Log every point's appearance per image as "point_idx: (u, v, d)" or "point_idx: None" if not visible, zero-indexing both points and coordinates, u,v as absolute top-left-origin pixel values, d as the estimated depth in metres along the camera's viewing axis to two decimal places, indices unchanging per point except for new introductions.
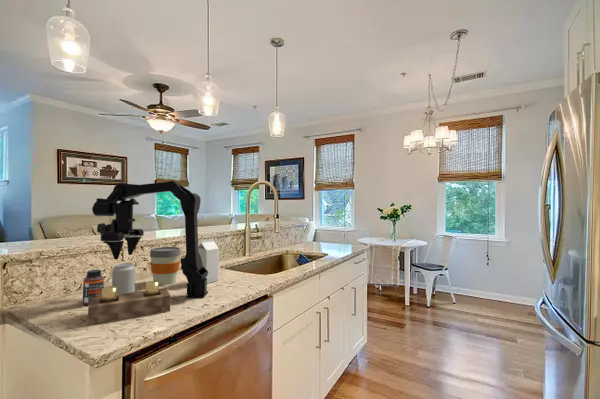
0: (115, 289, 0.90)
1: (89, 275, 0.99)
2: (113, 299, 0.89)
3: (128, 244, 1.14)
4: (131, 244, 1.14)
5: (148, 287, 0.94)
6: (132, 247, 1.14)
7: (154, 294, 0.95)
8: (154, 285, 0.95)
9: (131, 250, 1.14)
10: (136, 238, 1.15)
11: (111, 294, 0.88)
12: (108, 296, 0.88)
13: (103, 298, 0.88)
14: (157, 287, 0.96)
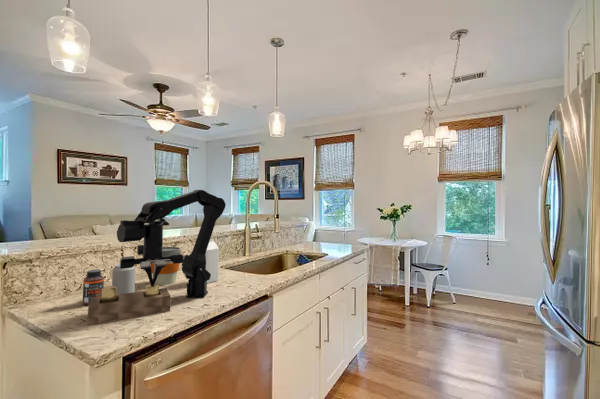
0: (115, 289, 0.90)
1: (89, 275, 0.99)
2: (113, 299, 0.89)
3: (153, 272, 0.97)
4: (154, 273, 0.96)
5: (148, 290, 0.94)
6: (153, 277, 0.95)
7: None
8: (154, 288, 0.95)
9: None
10: (155, 267, 0.95)
11: (111, 294, 0.88)
12: (108, 296, 0.88)
13: (103, 298, 0.88)
14: (157, 290, 0.96)
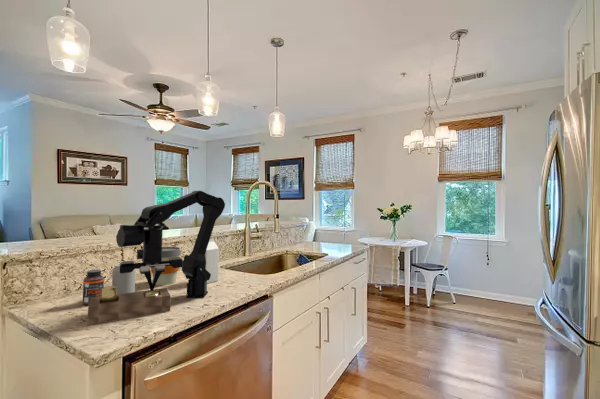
0: (115, 289, 0.90)
1: (89, 275, 0.99)
2: (113, 299, 0.89)
3: (153, 277, 0.97)
4: (153, 278, 0.96)
5: None
6: (152, 281, 0.95)
7: None
8: None
9: None
10: (155, 271, 0.95)
11: (111, 294, 0.88)
12: (108, 296, 0.88)
13: (103, 298, 0.88)
14: None
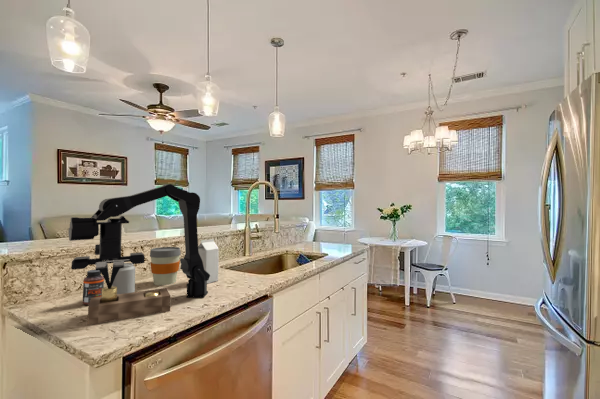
0: (115, 289, 0.90)
1: (89, 275, 0.99)
2: (113, 300, 0.89)
3: None
4: None
5: None
6: None
7: None
8: None
9: None
10: (112, 268, 0.88)
11: (111, 294, 0.88)
12: (108, 296, 0.88)
13: (103, 298, 0.88)
14: None
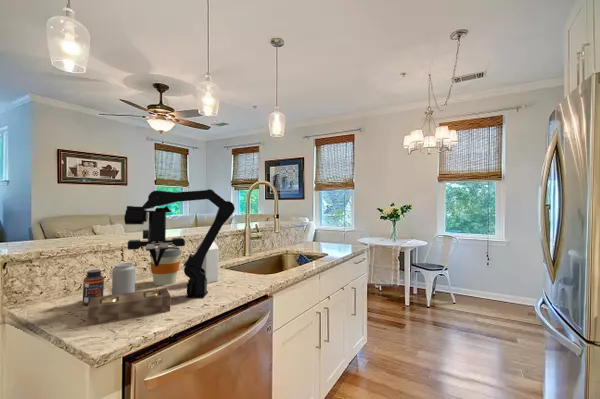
0: None
1: (89, 275, 0.99)
2: None
3: (157, 254, 1.07)
4: (158, 255, 1.06)
5: None
6: (157, 258, 1.05)
7: None
8: None
9: None
10: (159, 249, 1.05)
11: None
12: None
13: None
14: None
